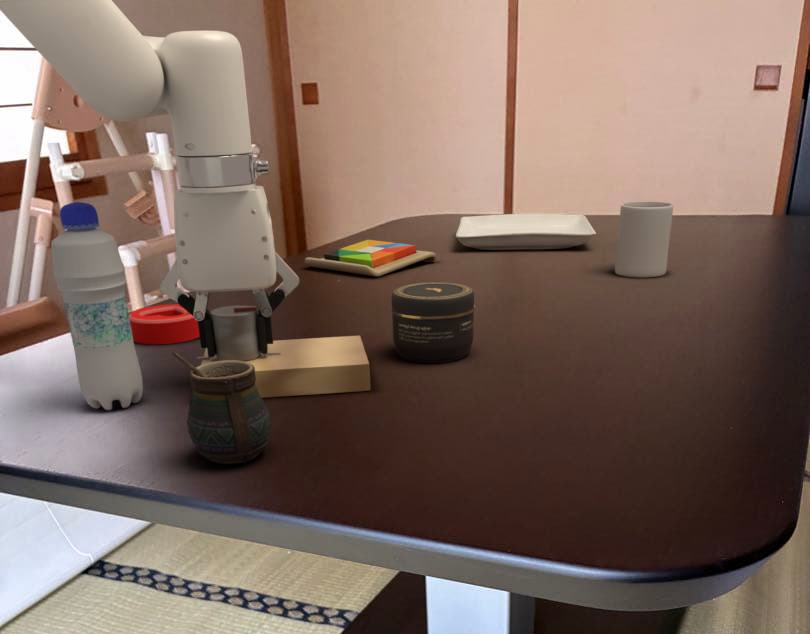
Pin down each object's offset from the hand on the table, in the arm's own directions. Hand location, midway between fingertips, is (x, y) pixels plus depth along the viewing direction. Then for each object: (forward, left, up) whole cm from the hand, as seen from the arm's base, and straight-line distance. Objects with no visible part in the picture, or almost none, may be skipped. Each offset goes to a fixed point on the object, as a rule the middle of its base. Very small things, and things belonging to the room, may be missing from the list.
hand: (238, 350), depth 93 cm
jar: (+23, +7, -4) cm, 24 cm away
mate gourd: (0, -22, -4) cm, 22 cm away
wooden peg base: (+5, 0, -4) cm, 6 cm away
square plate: (+55, +87, -4) cm, 103 cm away
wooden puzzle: (+21, +68, -4) cm, 71 cm away
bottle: (-13, -4, -4) cm, 14 cm away
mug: (+66, +50, -4) cm, 83 cm away
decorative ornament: (-11, +24, -4) cm, 27 cm away
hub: (0, 0, -1) cm, 1 cm away
